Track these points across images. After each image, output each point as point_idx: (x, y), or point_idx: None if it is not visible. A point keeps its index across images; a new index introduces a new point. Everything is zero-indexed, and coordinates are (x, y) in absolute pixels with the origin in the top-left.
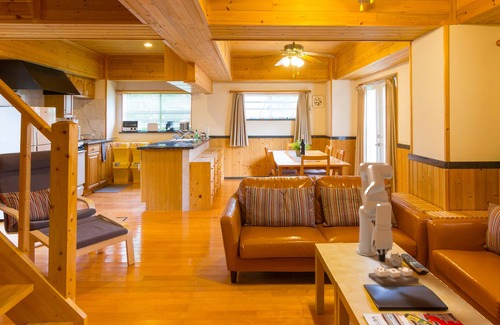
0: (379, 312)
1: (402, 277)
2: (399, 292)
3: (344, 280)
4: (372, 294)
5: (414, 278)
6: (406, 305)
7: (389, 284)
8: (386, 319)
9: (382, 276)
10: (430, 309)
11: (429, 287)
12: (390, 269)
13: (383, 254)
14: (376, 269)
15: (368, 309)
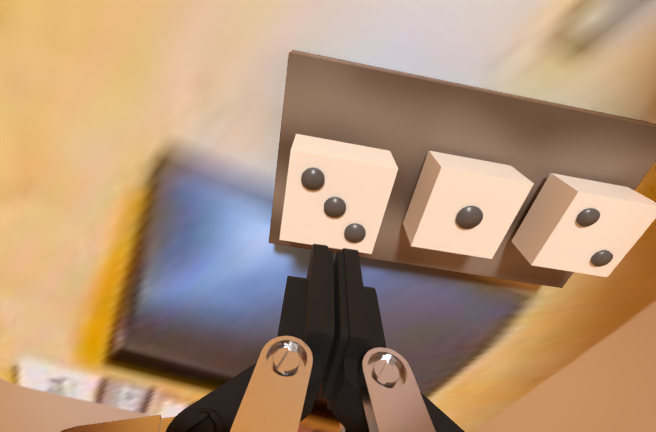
0: (99, 372)
1: None
2: None
3: (16, 11)
4: (151, 269)
5: (540, 276)
6: None
7: None
8: (103, 401)
9: None
10: (318, 413)
11: (523, 324)
12: (473, 185)
13: (331, 393)
14: (287, 186)
15: (58, 347)
